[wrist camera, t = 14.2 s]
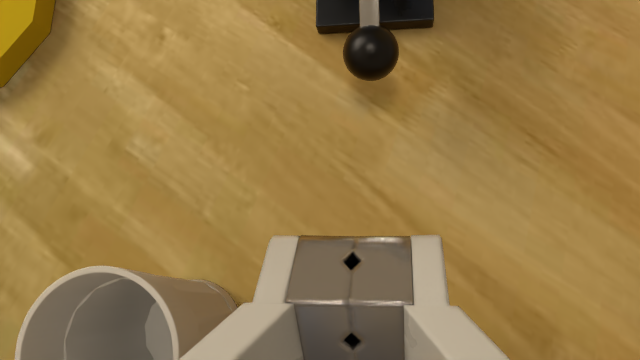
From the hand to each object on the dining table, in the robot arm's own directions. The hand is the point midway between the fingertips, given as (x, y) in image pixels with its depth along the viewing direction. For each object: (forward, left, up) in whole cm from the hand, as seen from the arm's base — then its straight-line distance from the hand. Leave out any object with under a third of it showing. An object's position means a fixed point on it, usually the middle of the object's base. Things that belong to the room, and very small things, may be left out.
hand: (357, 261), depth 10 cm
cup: (+13, -2, -26) cm, 29 cm away
